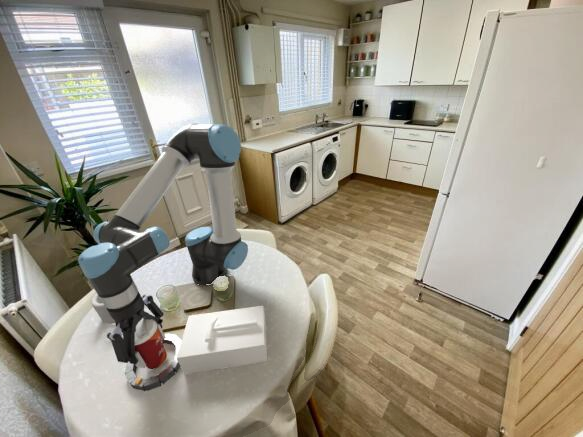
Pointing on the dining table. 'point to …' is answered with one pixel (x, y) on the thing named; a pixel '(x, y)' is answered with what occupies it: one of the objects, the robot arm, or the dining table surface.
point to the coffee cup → (149, 344)
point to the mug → (101, 310)
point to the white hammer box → (223, 340)
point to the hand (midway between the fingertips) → (151, 351)
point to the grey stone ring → (158, 379)
